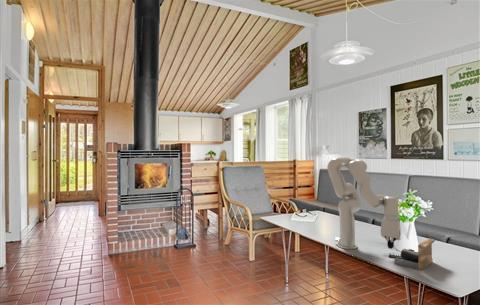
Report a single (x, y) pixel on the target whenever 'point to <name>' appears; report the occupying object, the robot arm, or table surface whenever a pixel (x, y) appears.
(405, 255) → the end cap
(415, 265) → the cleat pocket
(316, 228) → the table surface
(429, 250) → the wall board
